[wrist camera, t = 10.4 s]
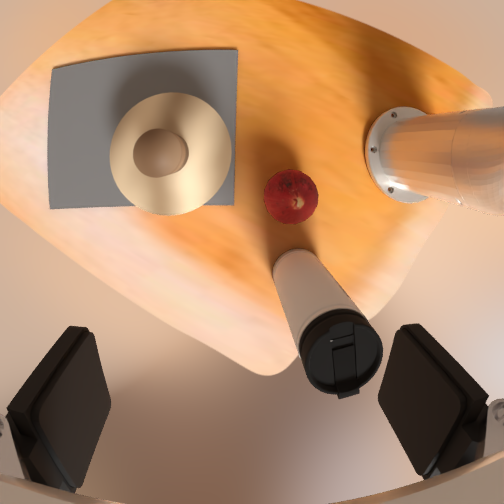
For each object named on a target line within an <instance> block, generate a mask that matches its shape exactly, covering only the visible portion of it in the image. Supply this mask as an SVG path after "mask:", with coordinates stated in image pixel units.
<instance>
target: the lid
mask: <svg viewBox="0 0 504 504" xmlns="http://www.w3.org/2000/svg"><path fill="white" fill-rule="evenodd" d="M231 154H232V151H231V141H230V136H229V133H228V130H227V127H226V125H225V123H224V121H223V120H222V118H221V117H220V115H219V114H218V113H217V112H216V111H215V110H214V109H213V108H212V107H211V106H210V105H209V104H208V103H206V102H204V101H203V100H201V99H199V98H197V97H195V96H192V95H188V94H184V93H173V92H170V93H162V94H158V95H154V96H151V97H149V98H146V99H144V100H143V101H141V102H139V103H138V104H136V105H135V106H134V107H132V108H131V109H130V110H129V111H128V112H127V113H126V114H125V116H124V117H123V118H122V119H121V121H120V123H119V124H118V126H117V128H116V130H115V132H114V135H113V138H112V141H111V146H110V167H111V172H112V175H113V178H114V180H115V182H116V184H117V186H118V188H119V189H120V191H121V192H122V194H123V195H124V196H125V197H126V198H127V199H128V200H129V201H130V202H131V203H132V204H134V205H135V206H137V207H138V208H140V209H142V210H144V211H147V212H150V213H153V214H157V215H167V216H170V215H179V214H184V213H187V212H190V211H192V210H194V209H197V208H199V207H200V206H202V205H203V204H205V203H206V202H207V201H208V200H210V199H211V198H212V197H213V196H214V195H215V194H216V192H217V191H218V190H219V189H220V187H221V186H222V184H223V182H224V180H225V178H226V176H227V173H228V171H229V167H230V163H231Z"/></svg>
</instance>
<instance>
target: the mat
mask: <svg viewBox="0 0 504 504" xmlns="http://www.w3.org/2000/svg"><path fill="white" fill-rule="evenodd" d="M237 66H238V50H190V51H171V52H158V53H147V54H138V55H129V56H121V57H114V58H108V59H102V60H96V61H90V62H85V63H80V64H75V65H70V66H65V67H61V68H57V69H52V76H51V86H50V98H49V113H48V188H49V204H50V209H65V208H88V207H116V206H135V205H134V204H132V203H131V202H130V201H129V200H128V199H127V198H126V197H125V196H124V195H123V194H122V192H121V191H120V189H119V188H118V186H117V184H116V182H115V180H114V178H113V175H112V172H111V167H110V146H111V141H112V138H113V135H114V132H115V130H116V128H117V126H118V124H119V123H120V121H121V119H122V118H123V117H124V116H125V114H126V113H127V112H128V111H129V110H130V109H131V108H132V107H134V106H135V105H136V104H138V103H139V102H141V101H143V100H144V99H146V98H149V97H151V96H154V95H158V94H162V93H170V92H173V93H184V94H188V95H192V96H195V97H197V98H199V99H201V100H203V101H204V102H206V103H208V104H209V105H210V106H211V107H212V108H213V109H214V110H215V111H216V112H217V113H218V114H219V115H220V117H221V118H222V120H223V121H224V123H225V125H226V127H227V130H228V133H229V136H230V141H231V151H232V154H231V163H230V167H229V171H228V173H227V176H226V178H225V180H224V182H223V184H222V186H221V187H220V189H219V190H218V191H217V192H216V194H215V195H214V196H213V197H212V198H211V199H210V200H208V201H207V202H206V203H205V204H203V205H234V176H235V132H236V96H237Z"/></svg>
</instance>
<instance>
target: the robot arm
mask: <svg viewBox="0 0 504 504" xmlns="http://www.w3.org/2000/svg"><path fill="white" fill-rule="evenodd" d="M391 114H392V116H391ZM371 148H372V152H371ZM365 157H366V164H367V168H368V171H369V173H370V176H371V178H372V180H373V181H374V183H375V184H376V186H377V187H378V188H379V189H380V190H381V191H382V192H383V193H384V194H385V195H387V196H388V197H390V198H392V199H394V200H396V201H399V202H403V203H417V202H421V201H423V200H426V199H427V198H429V197H431V198H435V199H439V200H442V201H446V202H449V203H453V204H456V205H460V206H463V207H467V208H470V209H473V210H476V211H479V212H482V213H486V214H489V215H495V216H502V215H504V107H496V108H486V109H476V110H466V111H456V112H448V113H439V114H432V115H427V114H426V113H424V112H422V111H420V110H418V109H415V108H412V107H396V108H393V109H390V110H388V111H386V112H384V113H382V114H381V115H380V116H379V117H378V118H377V119H376V120H375V121H374V123H373V124H372V126H371V128H370V130H369V132H368V135H367V139H366V145H365ZM388 188H389V191H388ZM488 397H489V395H488V394H487V393H486V392H485V391H484V390H483V389H482V388H481V387H480V385H479V384H478V383H477V382H476V381H475V380H474V379H473V378H472V377H471V376H470V375H469V374H468V373H467V372H466V371H465V369H464V368H463V367H462V366H461V365H460V364H459V363H458V362H457V361H456V360H455V359H454V358H453V357H452V356H451V355H450V354H449V353H448V352H447V351H446V350H445V349H444V348H443V347H442V346H441V345H440V344H439V343H438V342H437V341H436V340H435V339H434V338H433V337H432V336H431V335H430V334H429V333H428V332H427V331H426V330H425V329H424V328H423V327H422V326H421V325H420V324H408V325H403V326H401V328H400V330H397V332H396V333H395V337H394V341H393V345H392V348H391V352H390V356H389V360H388V363H387V367H386V370H385V374H384V377H383V380H382V384H381V387H380V390H379V393H378V402H379V404H380V406H381V408H382V410H383V412H384V414H385V415H386V417H387V419H388V420H389V423H390V424H391V426H392V428H393V430H394V432H395V434H396V435H397V437H398V439H399V441H400V443H401V445H402V447H403V448H404V450H405V452H406V454H407V456H408V458H409V460H410V461H411V463H412V465H413V467H414V469H415V471H416V473H417V474H418V475H420V476H421V475H422V477H423V479H424V480H423V481H420V482H417V483H414V484H411V485H408V486H404V487H401V488H397V489H394V490H390V491H386V492H382V493H378V494H375V495H370V496H366V497H361V498H357V499H352V500H347V501H341V502H337V503H331V504H504V399H497V400H494V401H492V402H491V404H490V405H489V406H487V405H486V400H487V398H488ZM110 408H111V399H110V395H109V392H108V388H107V384H106V381H105V377H104V374H103V370H102V366H101V362H100V358H99V354H98V349H97V345H96V341H95V336H94V334H93V333H92V332H89V330H88V328H86V327H78V326H69V327H68V328H67V329H66V330H65V332H64V333H63V334H62V335H61V337H60V338H59V339H58V340H57V341H56V343H55V344H54V345H53V346H52V348H51V349H50V350H49V352H48V353H47V354H46V355H45V357H44V358H43V359H42V361H41V362H40V363H39V365H38V366H37V367H36V368H35V370H34V371H33V372H32V374H31V375H30V376H29V378H28V379H27V380H26V382H25V383H24V385H23V386H22V387H21V389H20V390H19V391H18V393H17V394H16V395H15V397H14V398H13V400H12V401H11V403H10V404H9V405H8V407H7V410H8V414H7V415H6V417H4V416H3V415H2V414H0V504H123V503H118V502H112V501H107V500H102V499H97V498H92V497H88V496H83V495H79V494H75V491H76V488H80V487H81V486H82V484H83V482H84V479H85V476H86V473H87V470H88V467H89V464H90V462H91V459H92V456H93V453H94V451H95V448H96V445H97V442H98V440H99V437H100V434H101V432H102V429H103V427H104V424H105V421H106V419H107V416H108V414H109V411H110Z"/></svg>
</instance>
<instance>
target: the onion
mask: <svg viewBox="0 0 504 504" xmlns="http://www.w3.org/2000/svg"><path fill="white" fill-rule="evenodd" d="M264 202H265V205H266V208H267V210H268V212H269V213H270V214H271V215H272V217H273V218H274V219H275V220H278V221H280V222H282V223H284V224H297V223H300V222H302V221H305V220H306V219H307V218H309V217H310V216H311V215H312V214H313V212H314V210H315V209H316V207H317V204H318V192H317V188H316V185H315V184H314V182H313V181H312V180H311V178H310V177H309V176H307V175H306V174H304V173H302V172H301V171H297V170H291V169H288V170H284V171H281V172H278V173H276V174H275V175H274V176H273V177H272V178H271V179H270V180H269V181H268V183H267V185H266V188H265V190H264Z"/></svg>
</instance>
